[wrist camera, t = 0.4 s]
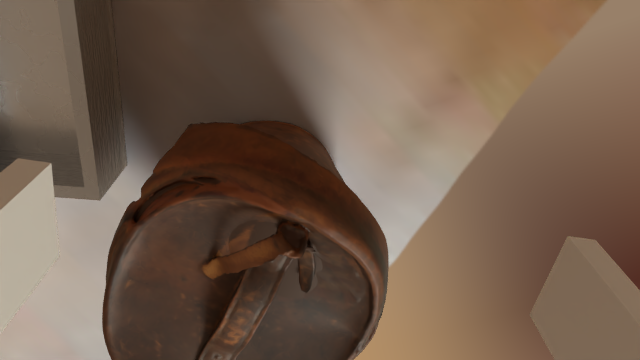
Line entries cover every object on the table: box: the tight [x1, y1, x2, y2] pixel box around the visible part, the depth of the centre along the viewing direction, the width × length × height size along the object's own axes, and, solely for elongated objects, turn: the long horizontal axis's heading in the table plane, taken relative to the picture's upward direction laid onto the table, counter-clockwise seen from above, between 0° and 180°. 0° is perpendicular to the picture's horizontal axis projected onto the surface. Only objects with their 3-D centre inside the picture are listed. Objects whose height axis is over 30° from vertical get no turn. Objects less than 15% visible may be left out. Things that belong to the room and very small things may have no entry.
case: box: [102, 121, 388, 360], centre depth 35 cm, size 18×20×18 cm
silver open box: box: [0, 0, 127, 200], centre depth 34 cm, size 18×12×6 cm
